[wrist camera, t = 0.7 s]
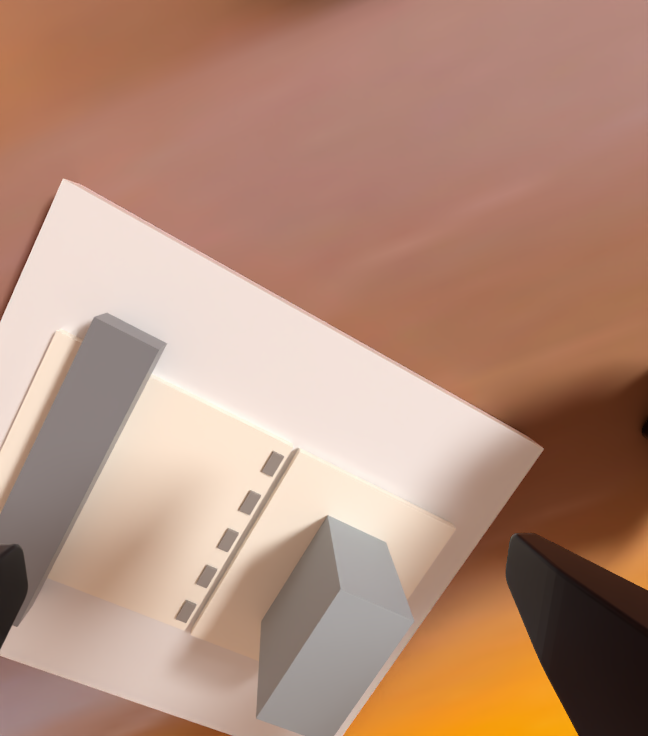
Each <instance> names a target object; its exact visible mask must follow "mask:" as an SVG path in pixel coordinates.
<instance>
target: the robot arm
mask: <svg viewBox="0 0 648 736" xmlns="http://www.w3.org/2000/svg"><path fill="white" fill-rule="evenodd" d="M642 434H643V436H644V437H645V438H647V439H648V420H647V422H646V423H645V425H644V426H643V428H642ZM506 580H507V583H508V586H509V589H510V591H511V593H512V596H513V598H514V601H515V603H516V606H517V608H518V610H519V613H520V615H521V618H522V620H523V623H524V625H525V627H526V630H527V632H528V635H529V637H530V639H531V642H532V644H533V647H534V649H535V651H536V654H537V656H538V658H539V660H540V663H541V665H542V667H543V669H544V671H545V673H546V675H547V677H548V679H549V680H550V682H551V684H552V686H553V688H554V690H555V692H556V694H557V696H558V697H559V699H560V701H561V703H562V705H563V707H564V709H565V711H566V713H567V715H568V716H569V718H570V720H571V722H572V724H573V726H574V728H575V730H576V732H577V733H578V735H579V736H648V590H646V589H644V588H642V587H640V586H638V585H636V584H634V583H632V582H630V581H628V580H626V579H624V578H622V577H620V576H618V575H616V574H614V573H612V572H610V571H608V570H606V569H604V568H602V567H600V566H598V565H596V564H594V563H592V562H590V561H588V560H586V559H584V558H583V557H581V556H579V555H577V554H575V553H573V552H571V551H569V550H567V549H565V548H563V547H561V546H559V545H557V544H555V543H553V542H551V541H549V540H547V539H545V538H543V537H541V536H539V535H537V534H535V533H515V534H514V535H512V536H511V538H510V543H509V550H508V557H507V564H506ZM27 592H28V577H27V570H26V563H25V557H24V551H23V548H22V547H21V546H20V545H19V544H0V649H1V647H2V645H3V643H4V641H5V639H6V637H7V635H8V633H9V631H10V629H11V627H12V625H13V623H14V621H15V619H16V617H17V615H18V613H19V611H20V609H21V607H22V605H23V603H24V601H25V598H26V595H27Z"/></svg>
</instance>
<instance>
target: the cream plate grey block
mask: <svg viewBox="0 0 648 736" xmlns="http://www.w3.org/2000/svg"><path fill="white" fill-rule="evenodd" d="M455 530H456V528H455V526H454V525H453V524H452V523H450V522H448V521H446V520H444V519H442V518H440V517H438V516H436V515H434V514H432V513H430V512H428V511H426V510H424V509H422V508H420V507H418V506H416V505H414V504H412V503H410V502H408V501H406V500H404V499H402V498H400V497H398V496H396V495H394V494H392V493H390V492H388V491H386V490H384V489H382V488H380V487H378V486H375V485H373V484H371V483H369V482H367V481H365V480H363V479H361V478H359V477H357V476H355V475H353V474H351V473H349V472H347V471H345V470H343V469H341V468H339V467H337V466H335V465H333V464H331V463H329V462H327V461H325V460H323V459H321V458H319V457H317V456H315V455H313V454H311V453H309V452H307V451H305V450H303V449H301V448H299V449H298V451H297V452H296V454H295V456H294V457H293V459H292V461H291V462H290V464H289V466H288V468H287V469H286V471H285V473H284V474H283V476H282V478H281V479H280V481H279V483H278V484H277V486H276V488H275V489H274V491H273V493H272V494H271V496H270V498H269V499H268V501H267V503H266V505H265V506H264V508H263V510H262V511H261V513H260V515H259V516H258V518H257V520H256V521H255V523H254V525H253V526H252V528H251V530H250V531H249V533H248V535H247V536H246V538H245V540H244V541H243V543H242V545H241V547H240V548H239V550H238V552H237V553H236V555H235V557H234V558H233V560H232V562H231V563H230V565H229V567H228V568H227V570H226V572H225V573H224V575H223V577H222V578H221V580H220V582H219V584H218V585H217V587H216V589H215V590H214V592H213V594H212V595H211V597H210V599H209V600H208V602H207V604H206V605H205V607H204V609H203V610H202V612H201V614H200V615H199V617H198V619H197V621H196V622H195V624H194V626H193V627H192V630H191V635H192V636H194V637H197V638H200V639H202V640H205V641H207V642H210V643H213V644H215V645H218V646H220V647H223V648H226V649H228V650H231V651H233V652H236V653H239V654H241V655H244V656H247V657H249V658H252V659H254V660H257V661H259V671H258V689H257V707H256V719H258V720H261V721H264V722H267V723H270V724H272V725H275V726H278V727H281V728H284V729H287V730H289V731H292V732H295V733H298V734H301V735H303V736H334V735H335V734H336V733H337V731H338V730H339V728H340V727H341V725H342V724H343V723H344V721H345V720H346V718H347V717H348V715H349V714H350V713H351V711H352V710H353V708H354V707H355V705H356V704H357V703H358V701H359V700H360V698H361V697H362V695H363V694H364V693H365V691H366V690H367V688H368V687H369V685H370V684H371V683H372V681H373V680H374V678H375V677H376V675H377V674H378V672H379V671H380V670H381V668H382V667H383V665H384V664H385V662H386V661H387V660H388V658H389V657H390V655H391V654H392V652H393V651H394V650H395V648H396V647H397V645H398V644H399V642H400V641H401V640H402V638H403V637H404V635H405V634H406V632H407V631H408V630H409V628H410V627H411V625H412V624H413V622H414V618H413V616H412V613H411V610H410V607H409V605H408V602H407V600H408V598H409V597H410V596H411V594H412V593H413V591H414V590H415V588H416V587H417V585H418V584H419V583H420V581H421V580H422V578H423V577H424V575H425V574H426V572H427V571H428V569H429V568H430V567H431V565H432V564H433V562H434V561H435V559H436V558H437V556H438V555H439V553H440V552H441V551H442V549H443V548H444V546H445V545H446V543H447V542H448V540H449V539H450V538H451V536H452V535H453V533H454V532H455Z"/></svg>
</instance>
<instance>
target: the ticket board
mask: <svg viewBox="0 0 648 736" xmlns="http://www.w3.org/2000/svg"><path fill="white" fill-rule="evenodd" d="M299 448H301V449H303V450H305V451H307V452H309V453H311V454H313V455H315V456H317V457H319V458H321V459H323V460H325V461H327V462H329V463H331V464H333V465H335V466H337V467H339V468H341V469H343V470H345V471H347V472H349V473H351V474H353V475H355V476H357V477H359V478H361V479H363V480H365V481H367V482H369V483H371V484H373V485H375V486H378V487H380V488H382V489H384V490H386V491H388V492H390V493H392V494H394V495H396V496H398V497H400V498H402V499H404V500H406V501H408V502H410V503H412V504H414V505H416V506H418V507H420V508H422V509H424V510H426V511H428V512H430V513H432V514H434V515H436V516H438V517H440V518H442V519H444V520H446V521H448V522H450V523H452V524H453V525H454V526H455V528H456V530H455V532H454V533H453V535H452V536H451V538H450V539H449V540H448V542H447V543H446V545H445V546H444V548H443V549H442V551H441V552H440V553H439V555H438V556H437V558H436V559H435V561H434V562H433V564H432V565H431V567H430V568H429V569H428V571H427V572H426V574H425V575H424V577H423V578H422V580H421V581H420V583H419V584H418V585H417V587H416V588H415V590H414V591H413V593H412V594H411V596H410V597H409V598H408V600H407V602H408V605H409V607H410V610H411V613H412V616H413V618H414V622H413V624H412V625H411V627H410V628H409V630H408V631H407V632H406V634H405V635H404V637H403V638H402V640H401V641H400V642H399V644H398V645H397V647H396V648H395V650H394V651H393V652H392V654H391V655H390V657H389V658H388V660H387V661H386V662H385V664H384V665H383V667H382V668H381V670H380V671H379V672H378V674H377V675H376V677H375V678H374V680H373V681H372V683H371V684H370V685H369V687H368V688H367V690H366V691H365V693H364V694H363V695H362V697H361V698H360V700H359V701H358V703H357V704H356V705H355V707H354V708H353V710H352V711H351V713H350V714H349V715H348V717H347V718H346V720H345V721H344V723H343V724H342V725H341V727H340V728H339V730H338V731H337V733H336V734H335V735H334V736H343V734H344V733H345V731H346V730H347V729H348V727H349V726H350V724H351V723H352V721H353V720H354V719H355V717H356V716H357V714H358V713H359V712H360V710H361V709H362V707H363V706H364V704H365V703H366V702H367V700H368V699H369V697H370V696H371V694H372V693H373V692H374V690H375V689H376V687H377V686H378V684H379V683H380V682H381V680H382V679H383V677H384V676H385V675H386V673H387V672H388V670H389V669H390V667H391V666H392V665H393V663H394V662H395V660H396V659H397V657H398V656H399V655H400V653H401V652H402V650H403V649H404V648H405V646H406V645H407V643H408V642H409V640H410V639H411V638H412V636H413V635H414V633H415V632H416V630H417V629H418V628H419V626H420V625H421V623H422V622H423V620H424V619H425V618H426V616H427V615H428V613H429V612H430V611H431V609H432V608H433V606H434V605H435V603H436V602H437V601H438V599H439V598H440V596H441V595H442V593H443V592H444V591H445V589H446V588H447V586H448V585H449V584H450V582H451V581H452V579H453V578H454V576H455V575H456V574H457V572H458V571H459V569H460V568H461V566H462V565H463V564H464V562H465V561H466V559H467V558H468V556H469V555H470V554H471V552H472V551H473V549H474V548H475V547H476V545H477V544H478V542H479V541H480V539H481V538H482V537H483V535H484V534H485V532H486V531H487V529H488V528H489V527H490V525H491V524H492V522H493V521H494V520H495V518H496V517H497V515H498V514H499V512H500V511H501V510H502V508H503V507H504V505H505V504H506V502H507V501H508V500H509V498H510V497H511V495H512V494H513V493H514V491H515V490H516V488H517V487H518V485H519V484H520V483H521V481H522V480H523V478H524V477H525V475H526V474H527V473H528V471H529V470H530V468H531V467H532V465H533V464H534V463H535V461H536V460H537V458H538V457H539V456H540V454H541V453H542V451H543V450H544V448H543V447H541V446H540V445H539V444H537V443H536V442H535V441H533V440H532V439H531V438H529V437H528V436H526V435H525V434H523V433H521V432H519V431H518V430H516V429H514V428H512V427H510V426H509V425H507V424H505V423H503V422H502V421H500V420H498V419H496V418H495V417H493V416H491V415H489V414H487V413H486V412H484V411H482V410H480V409H479V408H477V407H475V406H473V405H471V404H470V403H468V402H466V401H464V400H463V399H461V398H459V397H457V396H455V395H454V394H452V393H450V392H448V391H447V390H445V389H443V388H441V387H440V386H438V385H436V384H434V383H432V382H431V381H429V380H427V379H425V378H424V377H422V376H420V375H418V374H416V373H415V372H413V371H411V370H409V369H408V368H406V367H404V366H402V365H400V364H399V363H397V362H395V361H393V360H392V359H390V358H388V357H386V356H385V355H383V354H381V353H379V352H377V351H376V350H374V349H372V348H370V347H369V346H367V345H365V344H363V343H361V342H360V341H358V340H356V339H354V338H353V337H351V336H349V335H347V334H345V333H344V332H342V331H340V330H338V329H337V328H335V327H333V326H331V325H330V324H328V323H326V322H324V321H322V320H321V319H319V318H317V317H315V316H314V315H312V314H310V313H308V312H306V311H305V310H303V309H301V308H299V307H298V306H296V305H294V304H292V303H290V302H289V301H287V300H285V299H283V298H282V297H280V296H278V295H276V294H274V293H273V292H271V291H269V290H267V289H266V288H264V287H262V286H260V285H259V284H257V283H255V282H253V281H251V280H250V279H248V278H246V277H244V276H243V275H241V274H239V273H237V272H235V271H234V270H232V269H230V268H228V267H227V266H225V265H223V264H221V263H219V262H218V261H216V260H214V259H212V258H211V257H209V256H207V255H205V254H204V253H202V252H200V251H198V250H196V249H195V248H193V247H191V246H189V245H188V244H186V243H184V242H182V241H180V240H179V239H177V238H175V237H173V236H172V235H170V234H168V233H166V232H164V231H163V230H161V229H159V228H157V227H156V226H154V225H152V224H150V223H149V222H147V221H145V220H143V219H141V218H140V217H138V216H136V215H134V214H133V213H131V212H129V211H127V210H125V209H124V208H122V207H120V206H118V205H117V204H115V203H113V202H111V201H109V200H108V199H106V198H104V197H102V196H101V195H99V194H97V193H95V192H94V191H92V190H90V189H88V188H86V187H85V186H83V185H81V184H78V183H75V182H72V181H69V180H66V179H63V180H62V182H61V184H60V187H59V189H58V191H57V194H56V196H55V198H54V200H53V203H52V205H51V207H50V210H49V212H48V214H47V216H46V219H45V221H44V223H43V226H42V228H41V230H40V232H39V235H38V237H37V239H36V242H35V244H34V246H33V248H32V251H31V253H30V255H29V257H28V260H27V262H26V264H25V267H24V269H23V271H22V273H21V276H20V278H19V280H18V283H17V285H16V287H15V289H14V292H13V294H12V296H11V299H10V301H9V303H8V305H7V308H6V310H5V312H4V314H3V317H2V319H1V321H0V544H19V545H20V546H21V547H22V548H23V551H24V557H25V563H26V570H27V577H28V592H27V595H26V598H25V601H24V603H23V605H22V607H21V609H20V611H19V613H18V615H17V617H16V619H15V621H14V623H13V625H12V627H11V629H10V631H9V633H8V635H7V637H6V639H5V641H4V643H3V645H2V647H1V649H0V656H2V657H5V658H8V659H11V660H14V661H17V662H19V663H22V664H25V665H28V666H31V667H34V668H37V669H40V670H43V671H46V672H49V673H51V674H54V675H57V676H60V677H63V678H66V679H69V680H72V681H75V682H78V683H81V684H84V685H86V686H89V687H92V688H95V689H98V690H101V691H104V692H107V693H110V694H113V695H116V696H118V697H121V698H124V699H127V700H130V701H133V702H136V703H139V704H142V705H145V706H148V707H150V708H153V709H156V710H159V711H162V712H165V713H168V714H171V715H174V716H177V717H180V718H183V719H185V720H188V721H191V722H194V723H197V724H200V725H203V726H206V727H209V728H212V729H215V730H217V731H220V732H223V733H226V734H229V735H232V736H303V735H301V734H298V733H295V732H292V731H289V730H287V729H284V728H281V727H278V726H275V725H272V724H270V723H267V722H264V721H261V720H258V719H256V707H257V689H258V671H259V661H257V660H254V659H252V658H249V657H247V656H244V655H241V654H239V653H236V652H233V651H231V650H228V649H226V648H223V647H220V646H218V645H215V644H213V643H210V642H207V641H205V640H202V639H200V638H197V637H194V636H192V635H191V630H192V627H193V626H194V624H195V622H196V621H197V619H198V617H199V615H200V614H201V612H202V610H203V609H204V607H205V605H206V604H207V602H208V600H209V599H210V597H211V595H212V594H213V592H214V590H215V589H216V587H217V585H218V584H219V582H220V580H221V578H222V577H223V575H224V573H225V572H226V570H227V568H228V567H229V565H230V563H231V562H232V560H233V558H234V557H235V555H236V553H237V552H238V550H239V548H240V547H241V545H242V543H243V541H244V540H245V538H246V536H247V535H248V533H249V531H250V530H251V528H252V526H253V525H254V523H255V521H256V520H257V518H258V516H259V515H260V513H261V511H262V510H263V508H264V506H265V505H266V503H267V501H268V499H269V498H270V496H271V494H272V493H273V491H274V489H275V488H276V486H277V484H278V483H279V481H280V479H281V478H282V476H283V474H284V473H285V471H286V469H287V468H288V466H289V464H290V462H291V461H292V459H293V457H294V456H295V454H296V452H297V451H298V449H299Z"/></svg>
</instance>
